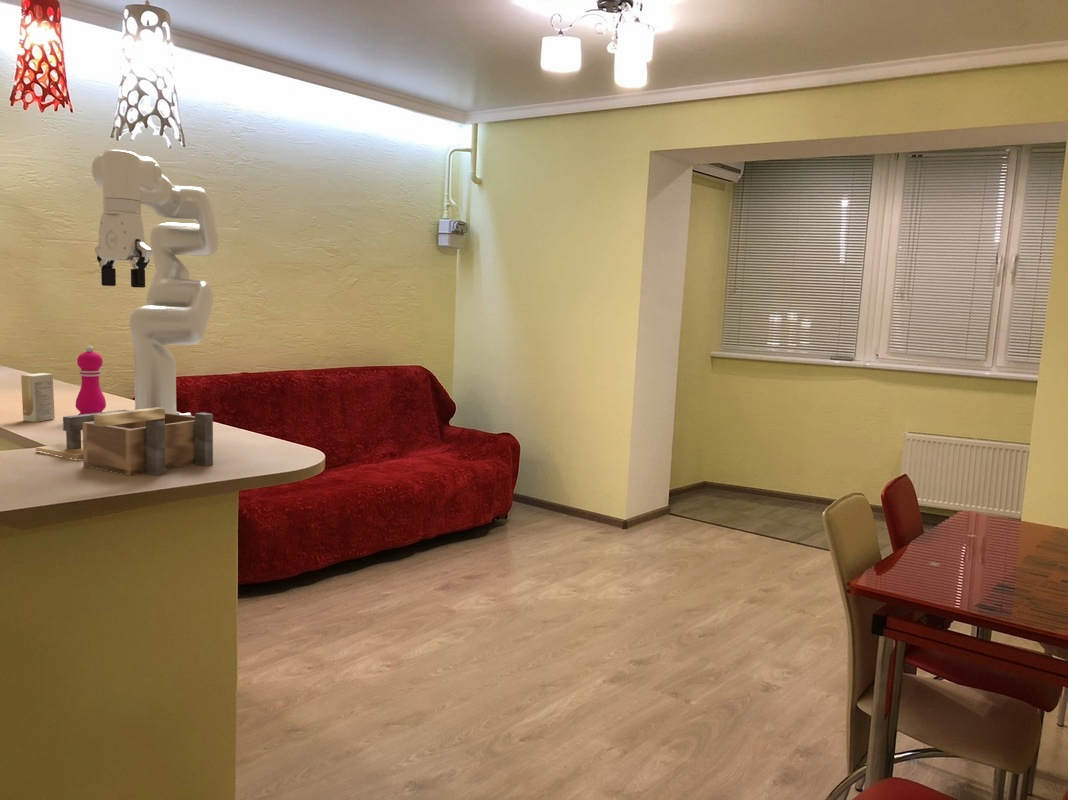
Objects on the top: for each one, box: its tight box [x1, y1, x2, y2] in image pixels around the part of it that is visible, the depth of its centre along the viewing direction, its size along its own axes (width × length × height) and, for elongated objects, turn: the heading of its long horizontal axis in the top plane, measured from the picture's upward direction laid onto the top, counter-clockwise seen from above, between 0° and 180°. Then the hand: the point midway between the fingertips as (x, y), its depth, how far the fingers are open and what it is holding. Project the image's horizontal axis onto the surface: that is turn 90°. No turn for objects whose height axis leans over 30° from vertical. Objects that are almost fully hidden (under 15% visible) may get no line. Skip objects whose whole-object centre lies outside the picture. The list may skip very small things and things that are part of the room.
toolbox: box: [82, 412, 214, 477], centre depth 177 cm, size 20×18×11 cm
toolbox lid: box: [35, 409, 131, 461], centre depth 190 cm, size 20×16×8 cm
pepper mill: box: [75, 345, 107, 415], centre depth 227 cm, size 7×7×20 cm
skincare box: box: [20, 372, 56, 423], centre depth 224 cm, size 6×4×12 cm
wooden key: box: [94, 407, 165, 427], centre depth 163 cm, size 14×2×2 cm, turn 153°
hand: (123, 286), depth 191 cm, fingers open, 9 cm apart
